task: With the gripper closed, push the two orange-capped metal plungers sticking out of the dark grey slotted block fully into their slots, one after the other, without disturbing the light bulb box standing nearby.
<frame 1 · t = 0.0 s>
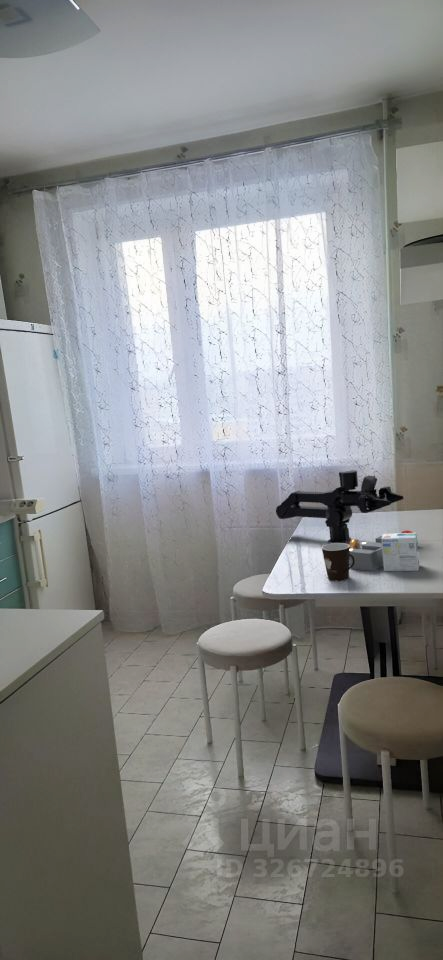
hand: (397, 500, 224), 17 cm above the table, tool horizontal, fingers open, 9 cm apart
cap: (407, 547, 225), on the table
coffee mug: (339, 579, 197), on the table
light bulb box: (401, 569, 201), on the table
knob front: (349, 552, 213), point 3 cm above the table, slide at 0.0 cm
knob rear: (363, 546, 219), point 3 cm above the table, slide at 0.0 cm
mount: (377, 560, 211), on the table
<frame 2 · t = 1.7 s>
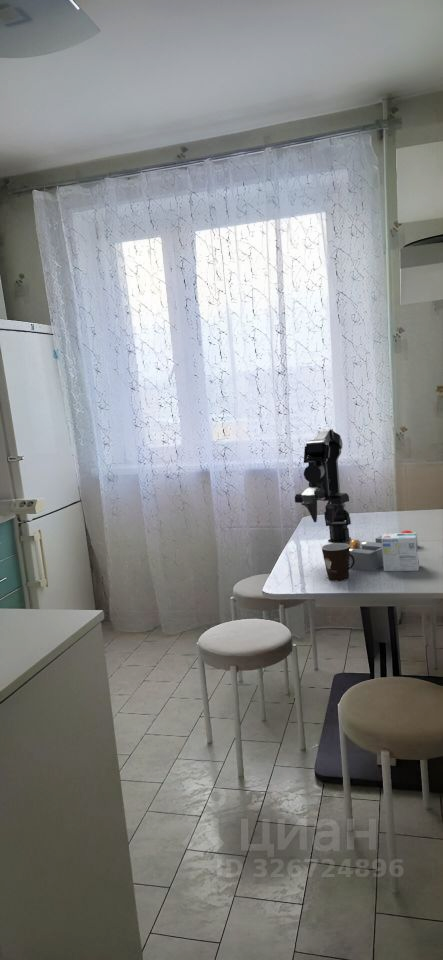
hand: (323, 522, 218), 13 cm above the table, tool pointing down, fingers open, 6 cm apart
nothing on the table moved.
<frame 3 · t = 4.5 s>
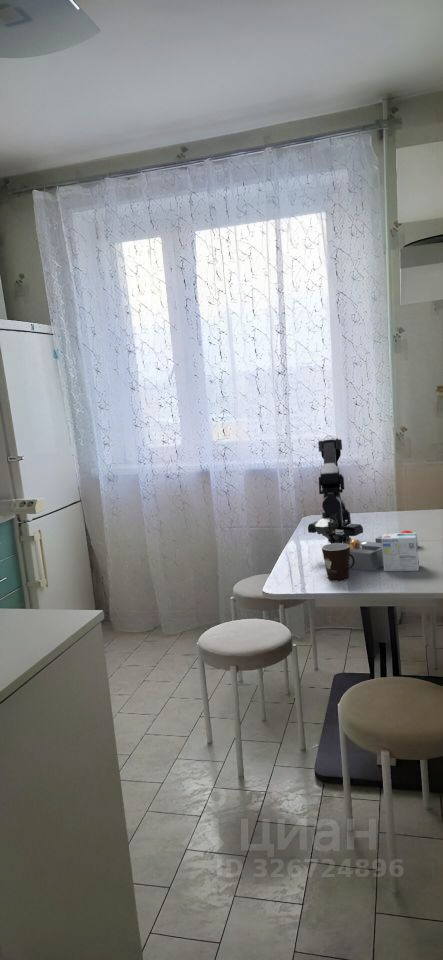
hand: (337, 553, 216), 3 cm above the table, tool pointing down, fingers closed
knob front: (352, 553, 212), point 3 cm above the table, slide at 1.1 cm, touching gripper
everything else where it was.
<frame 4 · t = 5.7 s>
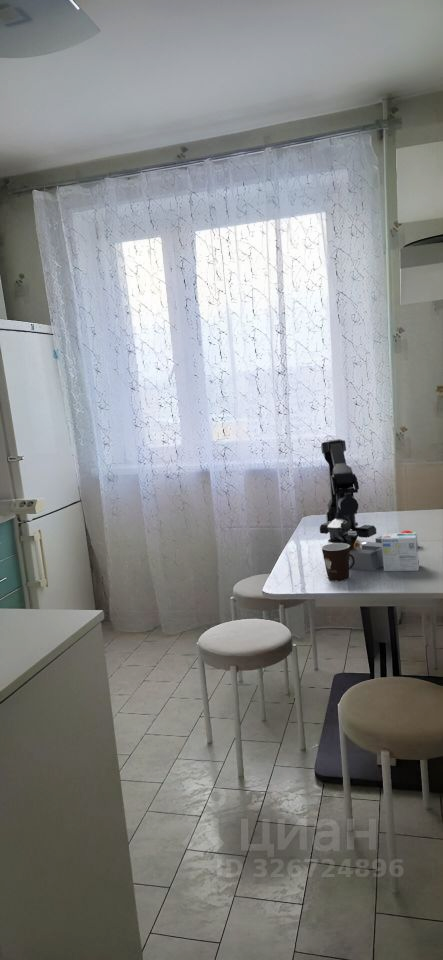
hand: (349, 554, 213), 3 cm above the table, tool pointing down, fingers closed
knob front: (365, 554, 209), point 3 cm above the table, slide at 5.8 cm, touching gripper
everything else where it was.
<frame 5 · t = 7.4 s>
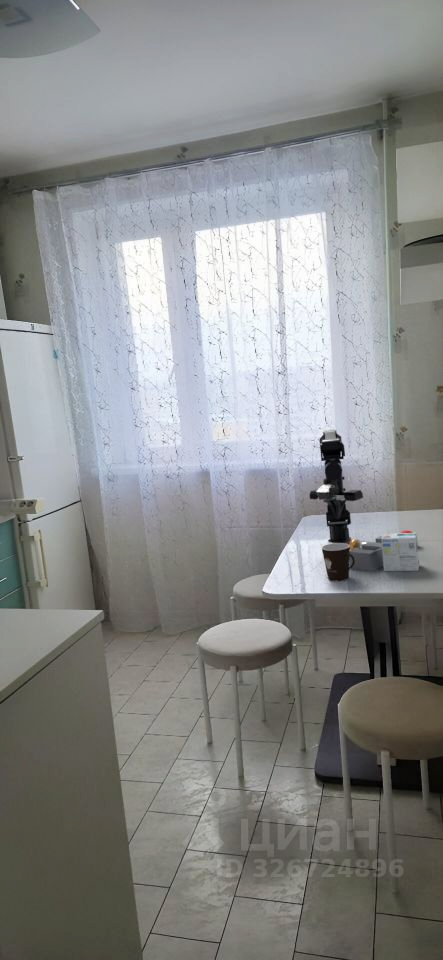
hand: (337, 518, 225), 12 cm above the table, tool pointing down, fingers closed
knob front: (365, 554, 209), point 3 cm above the table, slide at 5.8 cm
everything else where it was.
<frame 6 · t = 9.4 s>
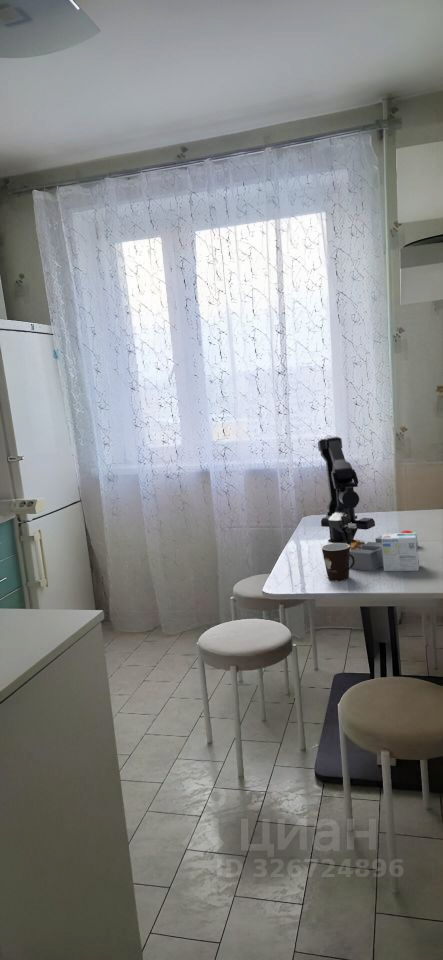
hand: (349, 546, 223), 3 cm above the table, tool pointing down, fingers closed
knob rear: (364, 546, 219), point 3 cm above the table, slide at 0.5 cm, touching gripper
everything else where it was.
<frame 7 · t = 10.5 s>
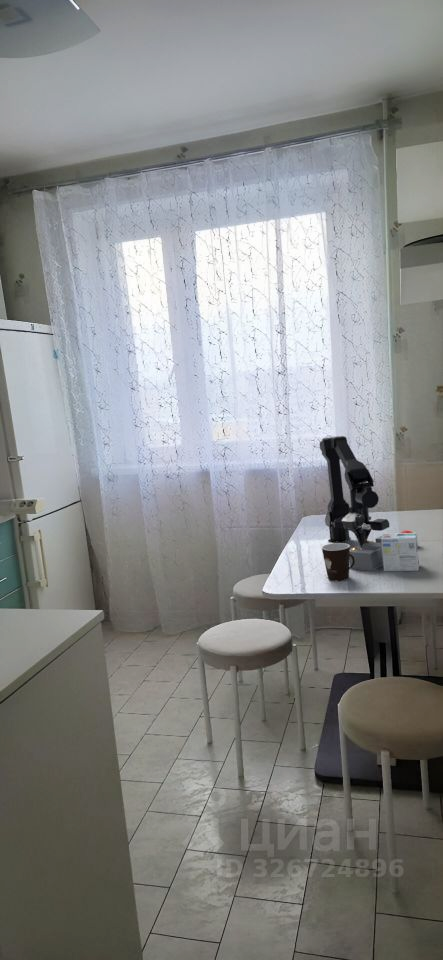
hand: (362, 547, 219), 3 cm above the table, tool pointing down, fingers closed
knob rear: (378, 547, 215), point 3 cm above the table, slide at 5.8 cm, touching gripper
everything else where it was.
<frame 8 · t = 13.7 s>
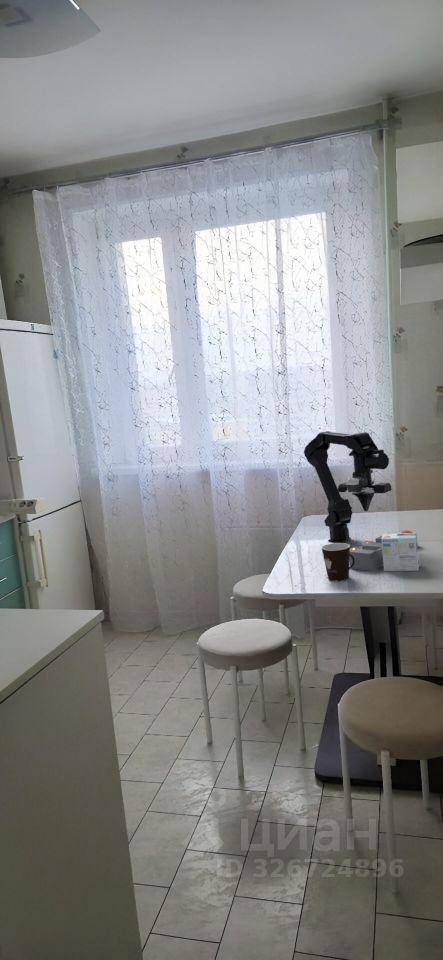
hand: (366, 511, 229), 13 cm above the table, tool pointing down, fingers closed
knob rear: (378, 547, 215), point 3 cm above the table, slide at 5.8 cm
everything else where it was.
at the end: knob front slide at 5.8 cm; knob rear slide at 5.8 cm; light bulb box moved 0.3 cm from its start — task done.
